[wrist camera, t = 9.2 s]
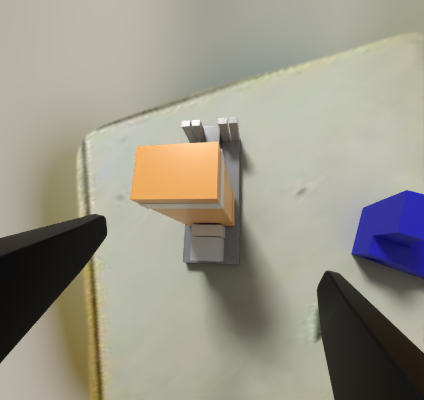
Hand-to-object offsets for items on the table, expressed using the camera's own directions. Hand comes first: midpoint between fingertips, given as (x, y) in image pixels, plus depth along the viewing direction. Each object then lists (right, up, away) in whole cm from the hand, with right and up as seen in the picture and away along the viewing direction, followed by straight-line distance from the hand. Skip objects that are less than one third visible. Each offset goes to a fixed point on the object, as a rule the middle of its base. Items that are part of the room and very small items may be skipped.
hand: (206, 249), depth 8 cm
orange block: (0, +1, +13) cm, 13 cm away
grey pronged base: (0, +3, +14) cm, 15 cm away
